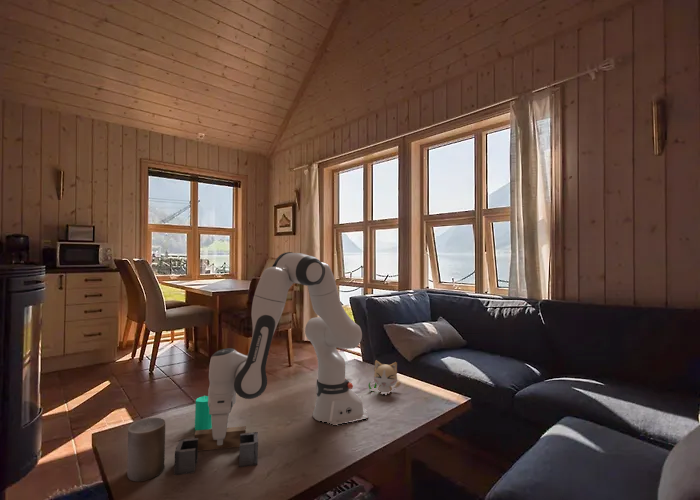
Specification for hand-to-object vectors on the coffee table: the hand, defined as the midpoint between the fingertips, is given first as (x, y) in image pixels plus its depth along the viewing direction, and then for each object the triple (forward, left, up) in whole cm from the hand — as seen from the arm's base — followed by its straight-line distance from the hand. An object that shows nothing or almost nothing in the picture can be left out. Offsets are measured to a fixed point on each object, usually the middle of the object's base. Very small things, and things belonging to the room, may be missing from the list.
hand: (220, 439), depth 121 cm
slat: (0, 0, -2) cm, 2 cm away
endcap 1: (+9, +10, -2) cm, 14 cm away
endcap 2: (-9, +10, -2) cm, 14 cm away
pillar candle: (+20, +10, -2) cm, 22 cm away
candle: (+7, -15, -2) cm, 17 cm away
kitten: (-71, -33, -2) cm, 78 cm away
